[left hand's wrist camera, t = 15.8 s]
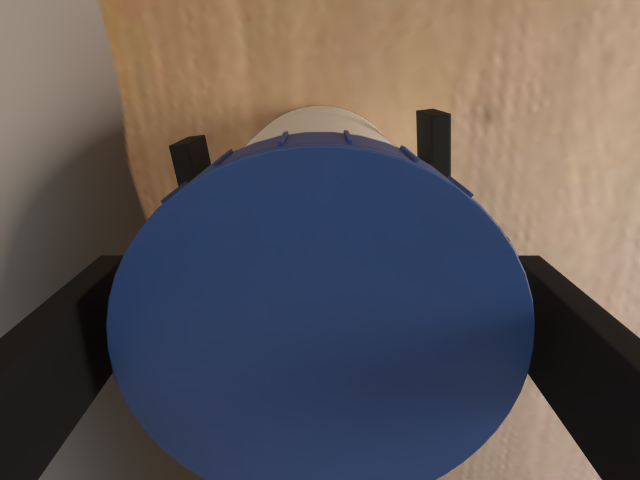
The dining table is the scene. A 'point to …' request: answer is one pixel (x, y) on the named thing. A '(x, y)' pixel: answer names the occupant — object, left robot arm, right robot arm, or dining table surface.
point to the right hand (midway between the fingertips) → (308, 126)
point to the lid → (320, 316)
